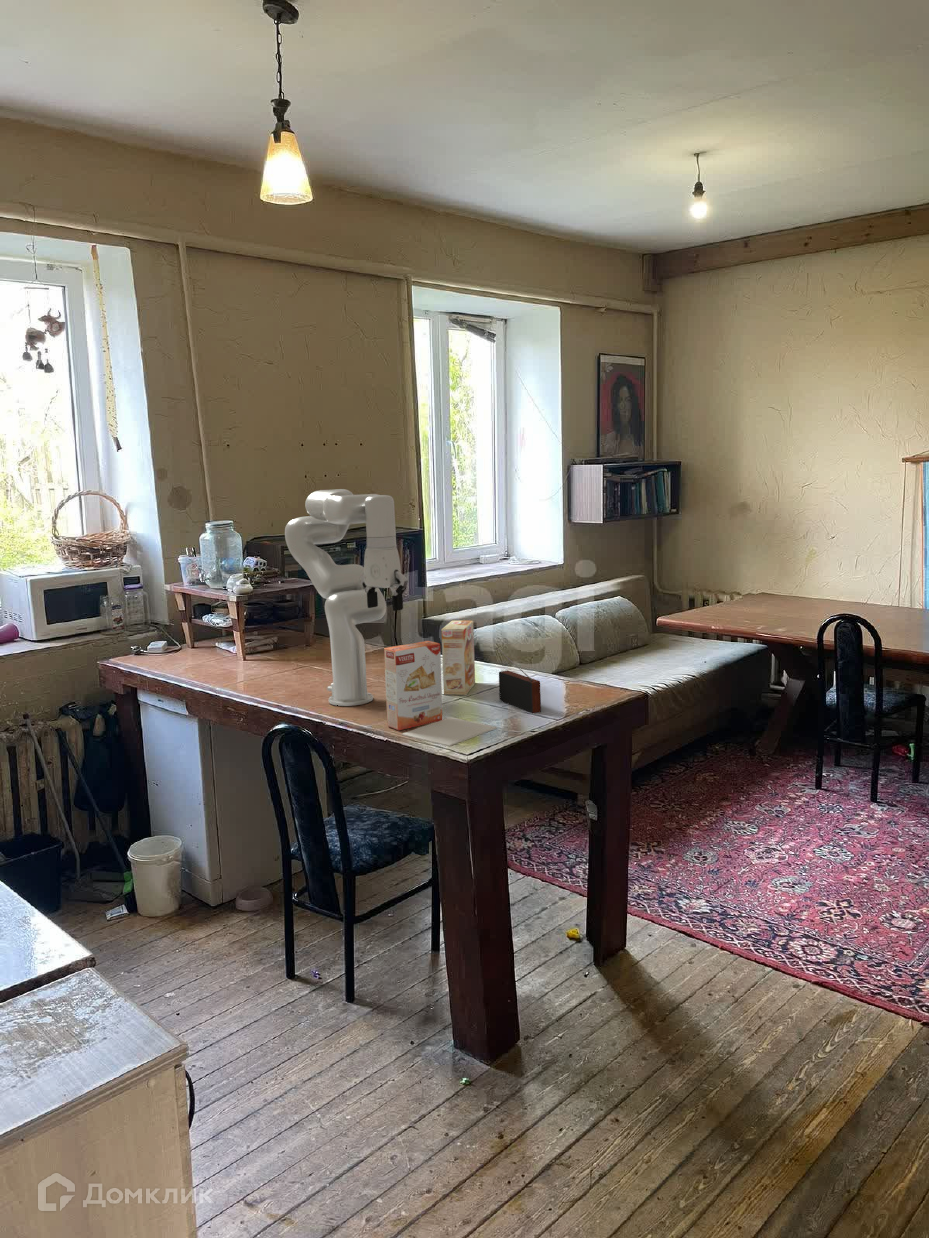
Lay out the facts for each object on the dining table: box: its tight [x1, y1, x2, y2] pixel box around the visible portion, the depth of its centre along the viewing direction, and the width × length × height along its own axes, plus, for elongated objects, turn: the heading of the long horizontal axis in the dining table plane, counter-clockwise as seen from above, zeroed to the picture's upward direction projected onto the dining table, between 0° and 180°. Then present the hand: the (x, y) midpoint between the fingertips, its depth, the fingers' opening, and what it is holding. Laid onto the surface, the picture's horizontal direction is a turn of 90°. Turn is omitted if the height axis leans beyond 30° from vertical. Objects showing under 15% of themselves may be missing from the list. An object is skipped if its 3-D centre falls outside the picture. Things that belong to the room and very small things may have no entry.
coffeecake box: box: [440, 619, 476, 696], centre depth 270 cm, size 15×7×20 cm, turn 168°
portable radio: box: [496, 647, 542, 714], centre depth 250 cm, size 19×3×15 cm, turn 30°
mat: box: [401, 716, 498, 747], centre depth 229 cm, size 16×18×1 cm
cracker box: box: [383, 640, 443, 731], centre depth 235 cm, size 14×6×21 cm, turn 127°
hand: (385, 608), depth 239 cm, fingers open, 9 cm apart
